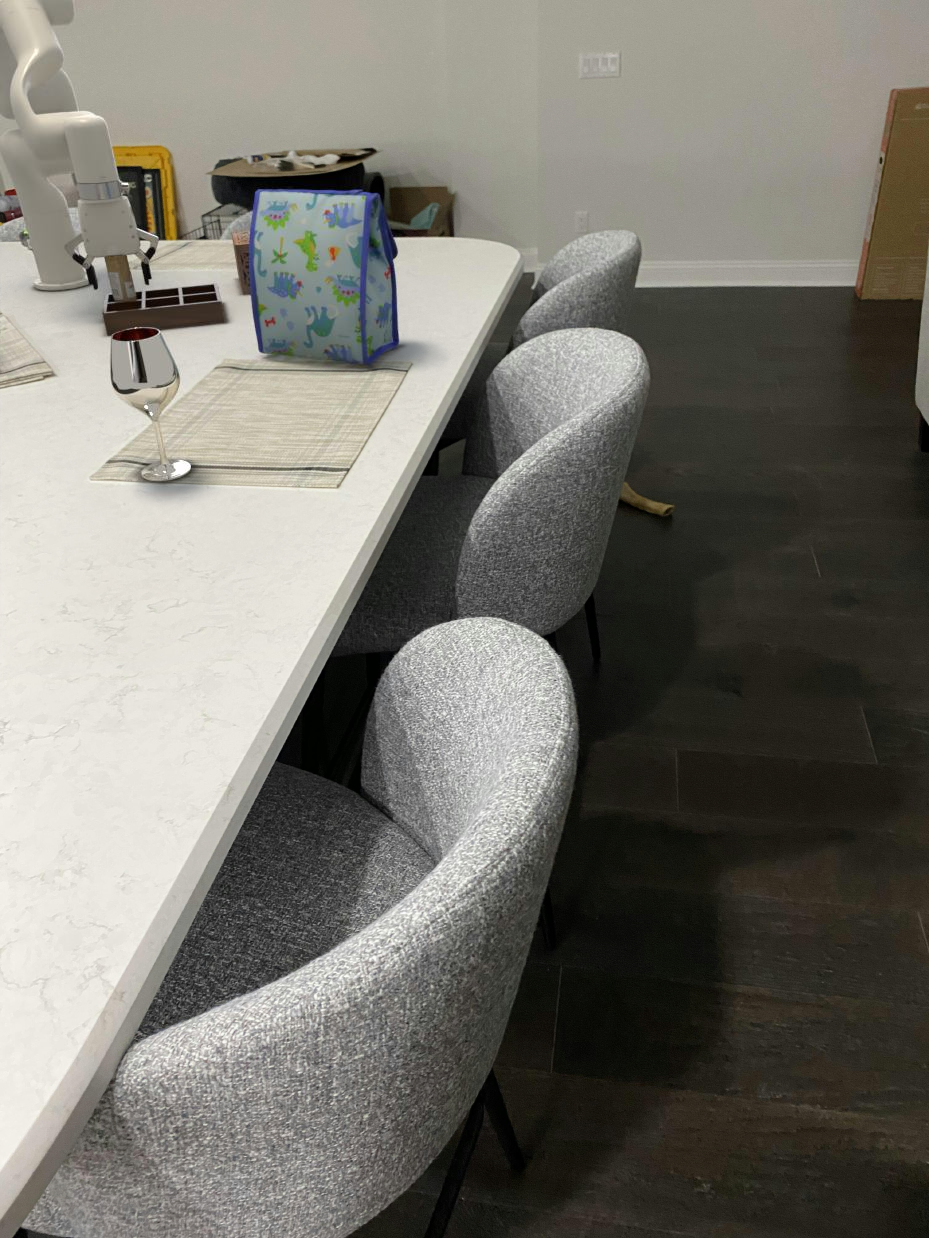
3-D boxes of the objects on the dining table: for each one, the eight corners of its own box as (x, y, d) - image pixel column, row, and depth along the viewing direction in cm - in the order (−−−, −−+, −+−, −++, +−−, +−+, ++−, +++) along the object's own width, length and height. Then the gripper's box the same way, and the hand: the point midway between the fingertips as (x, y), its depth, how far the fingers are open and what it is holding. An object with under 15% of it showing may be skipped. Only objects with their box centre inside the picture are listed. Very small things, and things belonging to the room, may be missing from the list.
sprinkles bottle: (143, 314, 184) (127, 242, 176) (120, 318, 182) (103, 246, 174) (136, 309, 187) (120, 239, 179) (114, 313, 185) (97, 242, 177)
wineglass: (141, 460, 125) (109, 326, 115) (202, 456, 125) (175, 323, 116) (128, 486, 118) (92, 346, 108) (193, 482, 119) (163, 342, 109)
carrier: (110, 315, 187) (105, 294, 185) (220, 303, 192) (217, 283, 189) (107, 335, 175) (102, 313, 173) (225, 322, 180) (221, 301, 177)
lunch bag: (408, 340, 166) (398, 182, 151) (371, 370, 153) (355, 200, 138) (298, 333, 172) (278, 179, 158) (253, 361, 159) (226, 197, 145)
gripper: (148, 184, 177) (166, 277, 186) (53, 191, 173) (76, 285, 183) (148, 191, 171) (167, 286, 180) (49, 198, 167) (74, 295, 177)
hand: (121, 286), depth 181 cm, fingers open, 9 cm apart
